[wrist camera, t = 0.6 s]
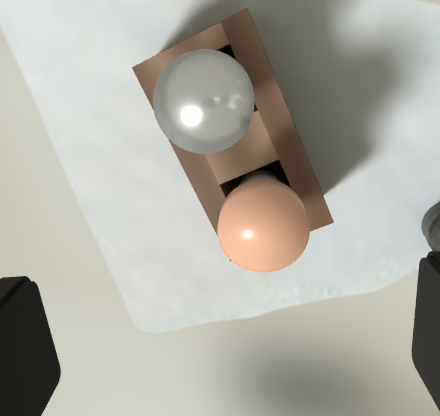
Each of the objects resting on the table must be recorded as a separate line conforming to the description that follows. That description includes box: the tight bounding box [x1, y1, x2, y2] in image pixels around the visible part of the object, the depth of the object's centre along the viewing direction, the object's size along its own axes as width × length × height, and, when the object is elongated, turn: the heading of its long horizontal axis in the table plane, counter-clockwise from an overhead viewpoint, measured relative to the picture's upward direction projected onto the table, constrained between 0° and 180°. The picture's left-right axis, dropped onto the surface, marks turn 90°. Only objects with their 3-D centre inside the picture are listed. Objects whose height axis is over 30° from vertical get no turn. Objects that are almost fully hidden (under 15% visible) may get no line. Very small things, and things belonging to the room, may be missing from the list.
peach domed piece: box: [217, 170, 310, 272], centre depth 31 cm, size 6×6×8 cm
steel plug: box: [153, 49, 254, 154], centre depth 28 cm, size 6×6×8 cm
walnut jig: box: [132, 9, 334, 261], centre depth 35 cm, size 9×17×6 cm, turn 25°
